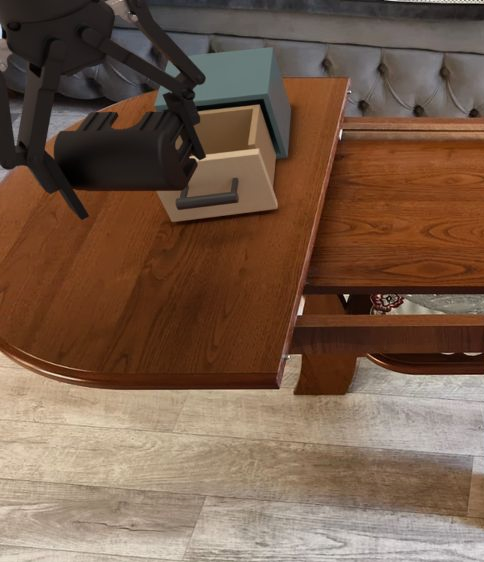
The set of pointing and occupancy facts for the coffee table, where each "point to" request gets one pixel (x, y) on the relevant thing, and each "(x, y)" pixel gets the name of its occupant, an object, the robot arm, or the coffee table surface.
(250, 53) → the cabinet
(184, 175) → the end cap
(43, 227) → the coffee table surface
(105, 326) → the coffee table surface
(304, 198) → the coffee table surface
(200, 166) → the drawer
